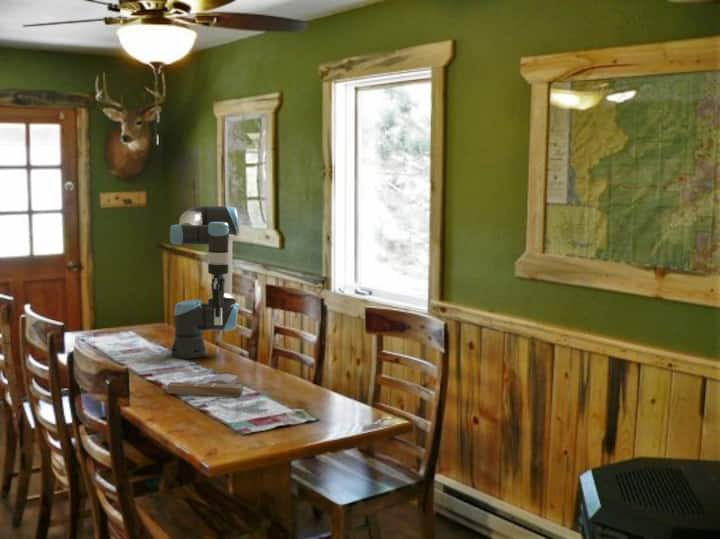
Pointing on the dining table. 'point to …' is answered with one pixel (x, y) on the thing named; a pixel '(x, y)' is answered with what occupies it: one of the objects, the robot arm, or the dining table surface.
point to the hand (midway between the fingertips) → (218, 324)
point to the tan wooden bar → (204, 389)
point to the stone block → (224, 379)
